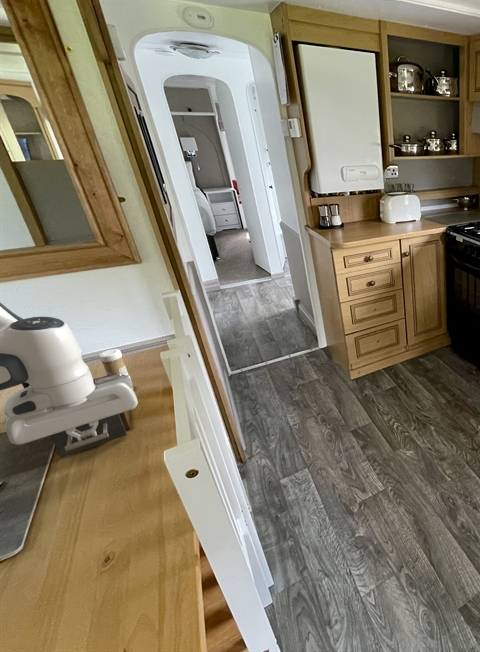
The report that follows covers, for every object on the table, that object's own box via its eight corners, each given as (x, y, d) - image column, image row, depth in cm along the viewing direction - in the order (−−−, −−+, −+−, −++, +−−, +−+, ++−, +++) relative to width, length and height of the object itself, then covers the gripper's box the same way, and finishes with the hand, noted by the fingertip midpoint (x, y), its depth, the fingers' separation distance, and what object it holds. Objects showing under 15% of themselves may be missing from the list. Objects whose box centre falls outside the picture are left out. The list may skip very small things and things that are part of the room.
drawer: (127, 447, 90) (117, 421, 87) (59, 472, 83) (44, 444, 80) (124, 408, 103) (115, 384, 100) (65, 427, 96) (53, 401, 93)
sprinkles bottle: (109, 396, 110) (93, 356, 105) (122, 387, 114) (107, 348, 109) (126, 396, 110) (110, 356, 105) (138, 387, 114) (124, 348, 109)
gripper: (128, 365, 90) (145, 412, 95) (-3, 399, 77) (25, 451, 82) (129, 377, 85) (147, 425, 91) (-9, 414, 73) (21, 469, 78)
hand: (88, 438), depth 86 cm, fingers closed, pressing on drawer
